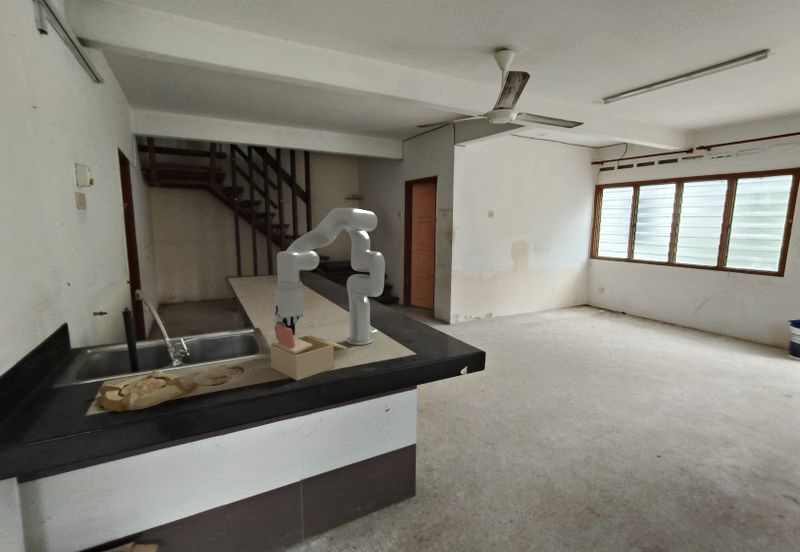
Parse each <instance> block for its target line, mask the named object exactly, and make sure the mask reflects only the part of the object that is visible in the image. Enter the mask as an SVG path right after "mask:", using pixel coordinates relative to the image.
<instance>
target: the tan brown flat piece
mask: <svg viewBox="0 0 800 552" xmlns="http://www.w3.org/2000/svg"><path fill="white" fill-rule="evenodd" d="M187 385H188V380H187V378H185V377H182V376H179V375H175V374H171V373H164V372H163V370H160V369H154V370H152V372H151V374H149V375H147V374H146V375H142V376H141V375H140V376H137V377H133V378H131V379H127V380H125V381H122V382H119V383H117V384H116V385H112V384H104V385H103V386H102V387H100V388H99V389H98V392H99V393H100V395H101V399H100V404H99V406H100V407H103V408H104V409H105V411H107V412H108V411H115V412H125V411H135V410H136V411H137V410H142V409H146V408H149V407H153V406H156V405H159V404H162V403H163V402H166V401H169V400H170V399H172V398H176V397H178V396H180V395H181V394H183V393H185V392H186V388H187Z"/></svg>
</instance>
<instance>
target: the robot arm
mask: <svg viewBox="0 0 800 552" xmlns="http://www.w3.org/2000/svg"><path fill="white" fill-rule="evenodd" d="M377 225H378V218H377V215H376V214H375V213H374V212H373V211H370V210H365V209H360V208H355V207H336V208H333V209H332V210H330V211H329V212H328V213H327V214H326V216H325V217H324V218H323V219H322V221H320V223H319V224H318V225H317V226H316V227H315V228H314V229H312V230H311V231H308V232H306V233H305V234H303V235H301V236H300V237H298V238H297V239H295V240H294V241H293V242H292V243H291V244H289V246H288V247H287V248H286V250H285V251H284V250H283V251H279V252H278V253H277V254H276V267H277V269H276V270H277V289H275V293H274V300H273V315H274V316H275V321H276V322H277V321H278V322H283V323H284V324H285V325H286V327H287V328H290V329H292V332H293V336H295V335H296V324H297V323H298V320H299V319H301V318H303V317H304V312H305V303H304V302H305V301H304V296H303V295H304V294H303V291H302V288H301V285H303V281H302V280H301V279H300V271H312V270H315V269H316V268H317V267H318V266H319V264H320V256H319V254H318V253H317V252H315V250H316V249H320V248H324V247H327V246H329V245H331V244H332V243H333V242H334V241H335V240H336V239H337V237H338V236H339V234H340V233H341V232H342V231H343V230H344V229H345V230H346V232H347V233H348V234H349V236H350V241H351V254H350V265H351V268H352V270H354V271H356V272H362V273H363V272H365V273H369V275H368V274H361V273H358V274H356V273H354V274H351V275H350V276H349V277H348V278H347V281H346V291H347V293H348V302H349V304H348V305H349V307H348V308H349V309H348V310H349V313H348V314H349V317H348V319H349V320H348V321H349V336H348V337H347V338H346V342H347V344H349V345H353V346H364V345H369V344H372V343H373V342H374V337H373V335H376V334H378V330H377V329H374V330H371V305H370V301H369V300H370V299H369V297H374V298H375V297H376V298H377V297H380V296H381V295H382V294H383V292H384V287H385V274H386V272H385V270H386V263H385V262H386V261H385V257H384V255H383V254H382V253H381V252H379V251H374V250H371V238H370V235H369V234H368V232H372V231H374V230H375V229H376V227H377Z"/></svg>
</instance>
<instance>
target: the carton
mask: <svg viewBox="0 0 800 552" xmlns="http://www.w3.org/2000/svg"><path fill="white" fill-rule="evenodd" d="M309 336H310V335H304V336H300V337H296V338H297V339H300V340H303V341H305V342H308V343H311V344H312V347H310V348H307V349H305V350H303V351H301V352H298V353H296V354H295V353H293V352H290V351H288V350H285V349H283V348H281V347H278V346H276V345H274V344H272V343H271V344H269V348H270V350H269V351H270V367H271V369H273V370H274V371H275V370H276V371H277V372H280V373H282V374H283V375H284V376H287V377H290V378H291V379H293V380H295V381H300V380H304V379H306V378H309V377H312V376H315V375H318V374H320V373H323V372H326V371H329V370H333V369H335V357H334V356H335V355H334V353H335V352H334V349H335V348H334V347H335V346H333V345H331V344H328V343H326V342H323V341H320V340H317V339H314V338H311V337H309Z"/></svg>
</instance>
